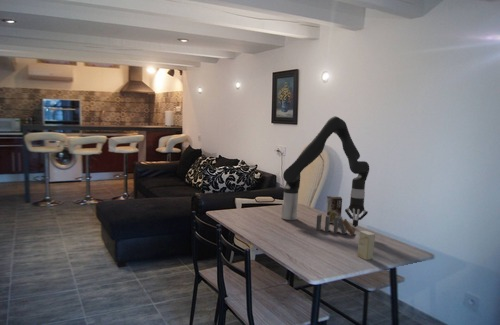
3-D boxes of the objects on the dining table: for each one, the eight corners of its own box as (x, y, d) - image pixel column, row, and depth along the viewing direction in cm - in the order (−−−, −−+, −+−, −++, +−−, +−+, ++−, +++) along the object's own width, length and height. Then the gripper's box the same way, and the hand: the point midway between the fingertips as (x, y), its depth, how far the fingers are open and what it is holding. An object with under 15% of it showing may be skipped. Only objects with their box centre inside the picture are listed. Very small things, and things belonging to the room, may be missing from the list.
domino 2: (324, 231, 223) (325, 216, 222) (326, 229, 228) (327, 214, 227) (327, 232, 223) (328, 217, 222) (329, 230, 227) (330, 215, 226)
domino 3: (333, 233, 222) (334, 217, 221) (334, 230, 226) (335, 215, 225) (336, 233, 221) (337, 218, 220) (337, 231, 226) (338, 216, 225)
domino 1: (316, 230, 225) (317, 215, 224) (317, 228, 230) (318, 213, 229) (319, 231, 224) (320, 215, 223) (320, 228, 229) (321, 214, 228)
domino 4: (342, 234, 220) (337, 219, 220) (343, 232, 224) (338, 217, 225) (345, 233, 219) (340, 218, 219) (346, 231, 224) (341, 216, 224)
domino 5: (351, 235, 218) (341, 222, 219) (352, 233, 223) (343, 220, 224) (354, 233, 218) (344, 220, 219) (354, 231, 222) (345, 218, 223)
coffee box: (339, 221, 249) (341, 196, 248) (340, 223, 243) (342, 198, 241) (325, 220, 250) (326, 195, 249) (326, 222, 244) (327, 197, 242)
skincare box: (356, 255, 184) (358, 231, 183) (364, 254, 186) (366, 230, 185) (366, 260, 179) (368, 234, 177) (373, 259, 181) (375, 233, 179)
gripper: (370, 196, 219) (367, 226, 221) (346, 194, 223) (344, 223, 225) (369, 198, 212) (366, 229, 214) (344, 196, 216) (342, 226, 218)
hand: (355, 226), depth 219 cm, fingers closed
